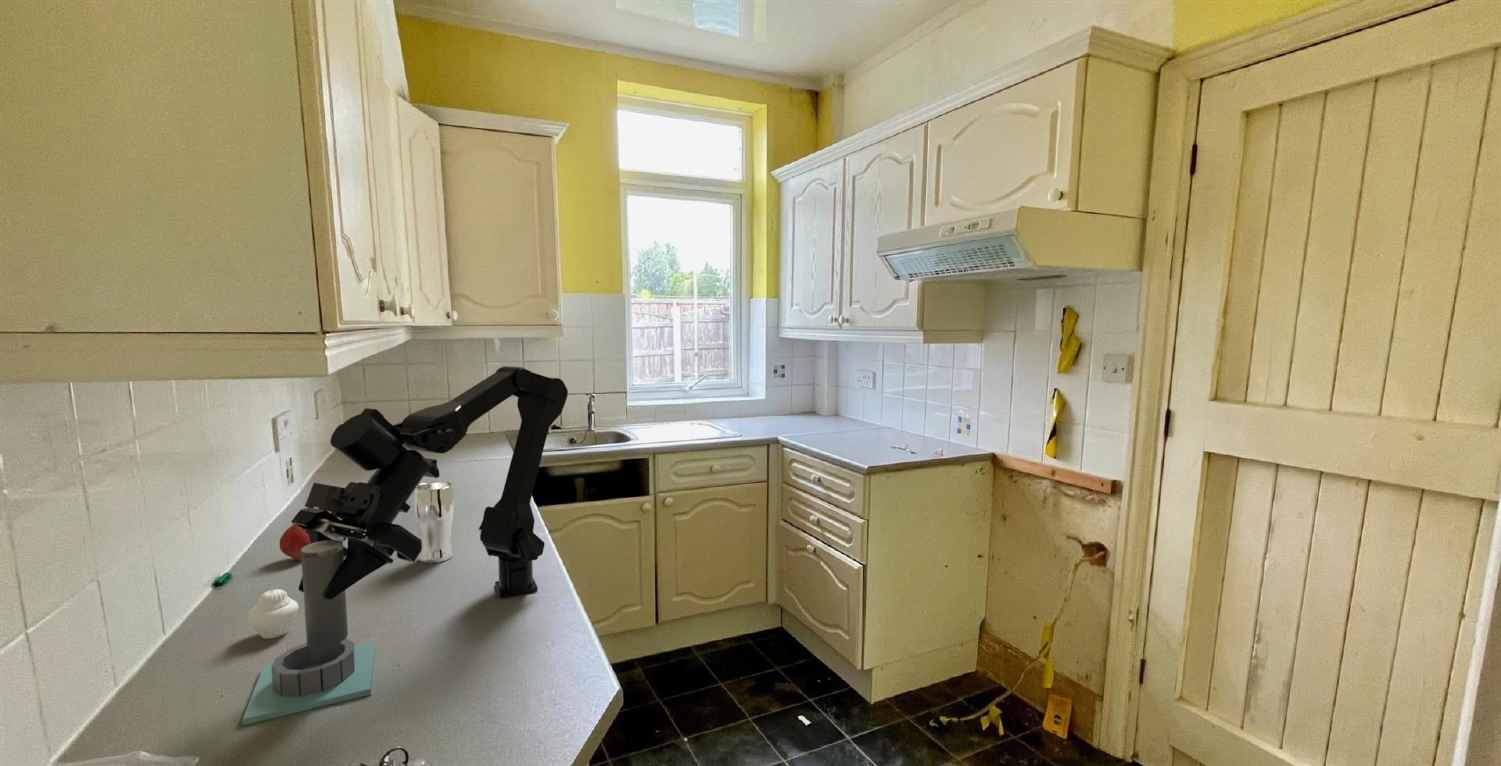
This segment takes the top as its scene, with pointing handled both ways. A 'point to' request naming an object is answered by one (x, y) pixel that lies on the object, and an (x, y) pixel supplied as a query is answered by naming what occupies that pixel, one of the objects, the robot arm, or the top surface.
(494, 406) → the robot arm
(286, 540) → the onion
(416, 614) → the top surface
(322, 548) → the plug
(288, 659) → the socket
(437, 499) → the beer glass
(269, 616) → the muffin
